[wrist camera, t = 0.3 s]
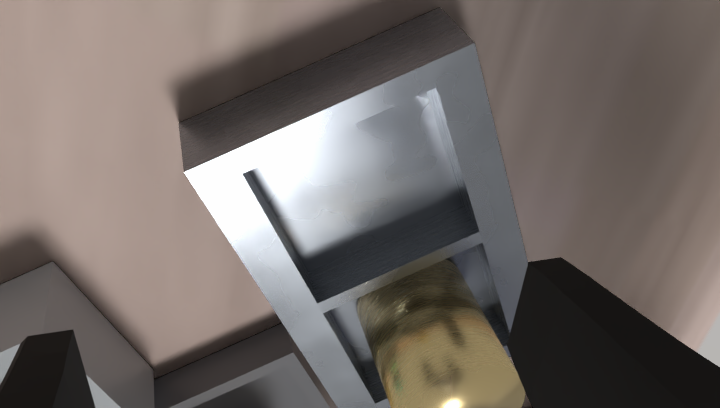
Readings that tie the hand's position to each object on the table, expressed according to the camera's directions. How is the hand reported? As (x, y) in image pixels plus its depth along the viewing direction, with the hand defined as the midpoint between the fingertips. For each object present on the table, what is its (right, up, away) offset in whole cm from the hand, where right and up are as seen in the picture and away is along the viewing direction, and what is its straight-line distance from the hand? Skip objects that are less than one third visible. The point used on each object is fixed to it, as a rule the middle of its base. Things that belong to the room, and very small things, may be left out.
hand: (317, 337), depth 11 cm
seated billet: (+3, -1, +13) cm, 14 cm away
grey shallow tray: (+1, +1, +12) cm, 12 cm away
